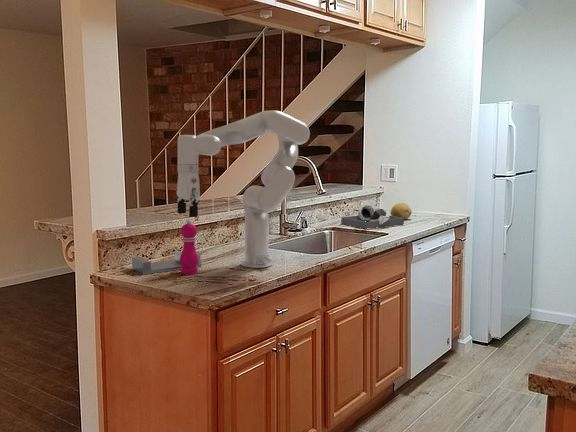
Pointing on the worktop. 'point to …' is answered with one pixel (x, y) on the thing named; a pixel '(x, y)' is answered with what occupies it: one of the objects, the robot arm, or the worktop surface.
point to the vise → (155, 266)
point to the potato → (401, 210)
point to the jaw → (177, 255)
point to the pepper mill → (189, 249)
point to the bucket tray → (371, 222)
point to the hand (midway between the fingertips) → (187, 215)
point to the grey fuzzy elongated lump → (373, 214)
